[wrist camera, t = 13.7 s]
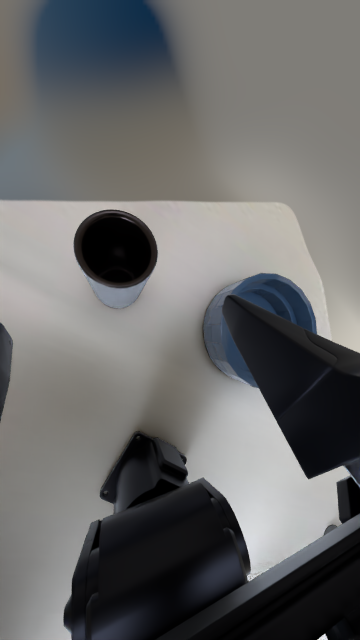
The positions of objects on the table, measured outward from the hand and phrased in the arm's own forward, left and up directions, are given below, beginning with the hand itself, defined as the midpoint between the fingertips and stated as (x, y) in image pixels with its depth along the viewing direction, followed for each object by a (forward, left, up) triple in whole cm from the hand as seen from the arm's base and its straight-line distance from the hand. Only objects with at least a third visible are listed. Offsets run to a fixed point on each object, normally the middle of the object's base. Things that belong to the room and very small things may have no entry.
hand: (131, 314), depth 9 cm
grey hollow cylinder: (+3, +3, -13) cm, 14 cm away
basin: (+8, -13, -13) cm, 20 cm away
